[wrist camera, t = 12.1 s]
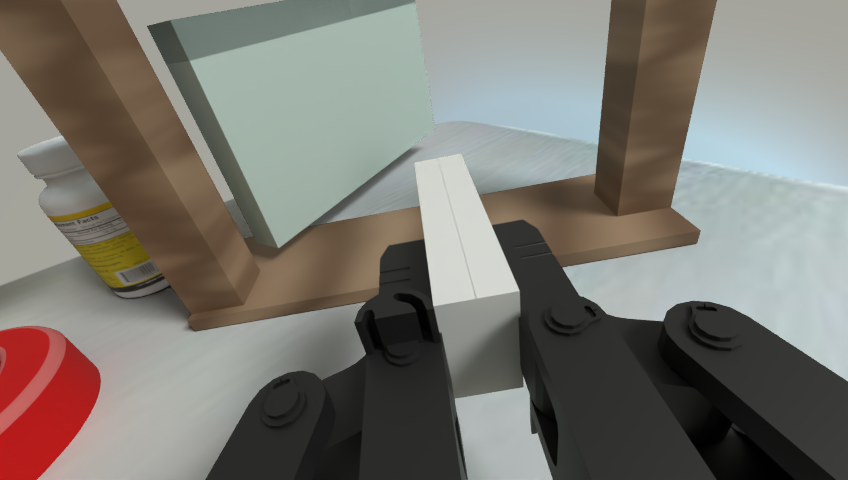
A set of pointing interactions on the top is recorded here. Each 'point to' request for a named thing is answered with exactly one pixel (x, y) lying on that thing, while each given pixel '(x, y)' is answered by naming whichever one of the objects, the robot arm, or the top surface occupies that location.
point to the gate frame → (364, 236)
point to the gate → (301, 100)
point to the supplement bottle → (91, 220)
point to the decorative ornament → (41, 398)
